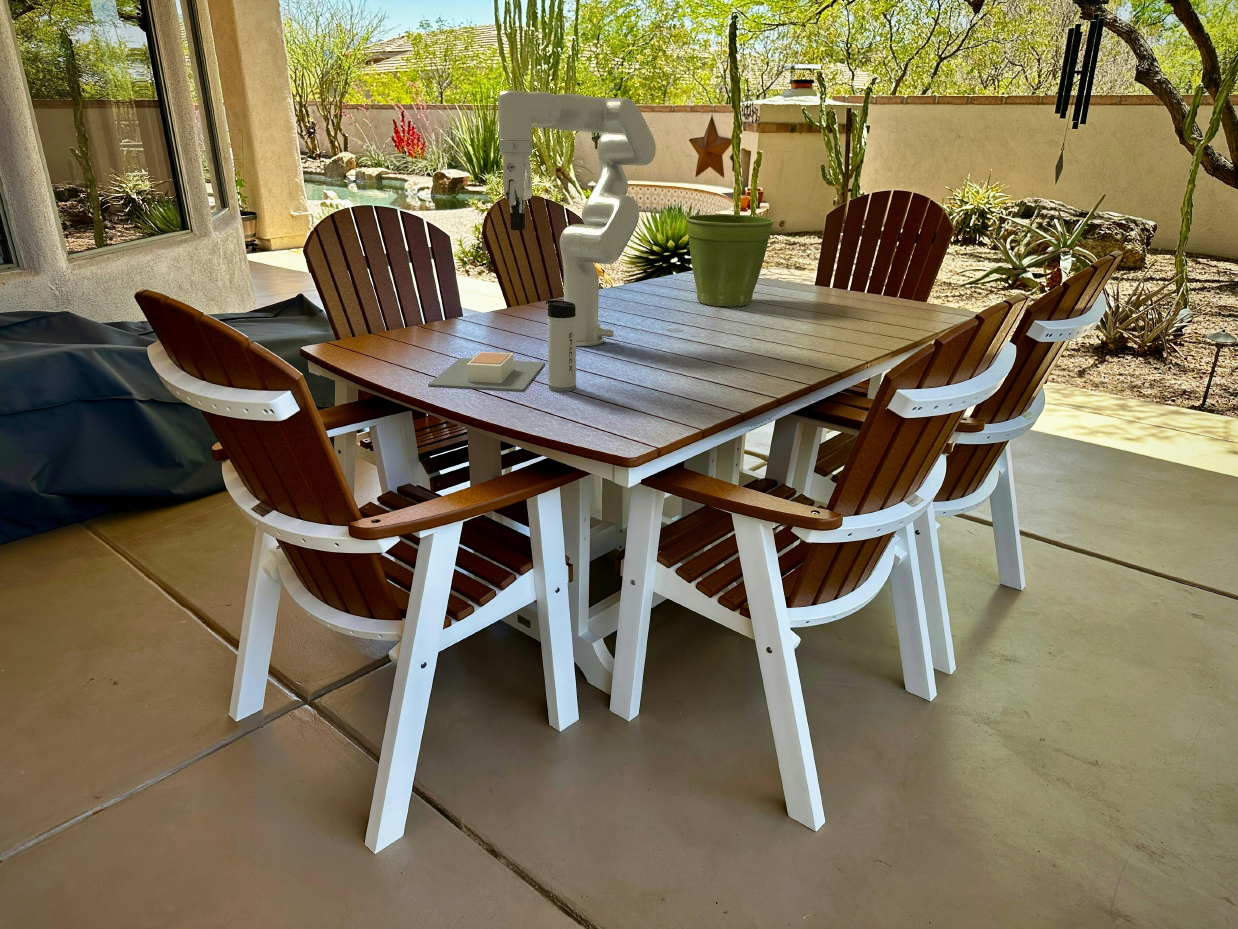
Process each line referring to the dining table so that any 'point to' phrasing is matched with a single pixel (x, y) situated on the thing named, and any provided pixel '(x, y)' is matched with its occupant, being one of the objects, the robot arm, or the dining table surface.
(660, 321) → the dining table surface
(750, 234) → the plant pot
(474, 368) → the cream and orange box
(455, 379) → the mat
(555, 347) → the travel mug
